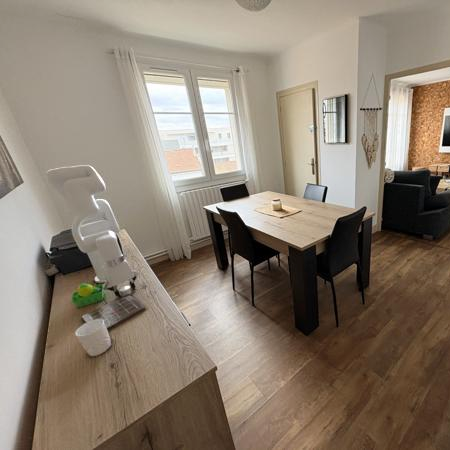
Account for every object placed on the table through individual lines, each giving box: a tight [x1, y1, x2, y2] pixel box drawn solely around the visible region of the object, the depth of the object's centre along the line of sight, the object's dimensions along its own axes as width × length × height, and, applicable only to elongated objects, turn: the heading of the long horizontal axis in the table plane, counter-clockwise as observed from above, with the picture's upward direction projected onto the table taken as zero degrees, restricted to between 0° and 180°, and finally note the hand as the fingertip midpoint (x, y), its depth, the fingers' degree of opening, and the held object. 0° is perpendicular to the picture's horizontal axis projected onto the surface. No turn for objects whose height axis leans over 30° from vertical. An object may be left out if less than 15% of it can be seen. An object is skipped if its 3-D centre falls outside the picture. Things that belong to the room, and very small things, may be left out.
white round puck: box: [118, 285, 133, 297], centre depth 117 cm, size 4×4×3 cm
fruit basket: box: [70, 283, 105, 308], centre depth 111 cm, size 11×9×11 cm
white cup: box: [74, 319, 112, 357], centre depth 86 cm, size 8×8×10 cm
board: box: [81, 294, 146, 332], centre depth 104 cm, size 18×18×1 cm
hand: (126, 292), depth 118 cm, fingers open, 5 cm apart
